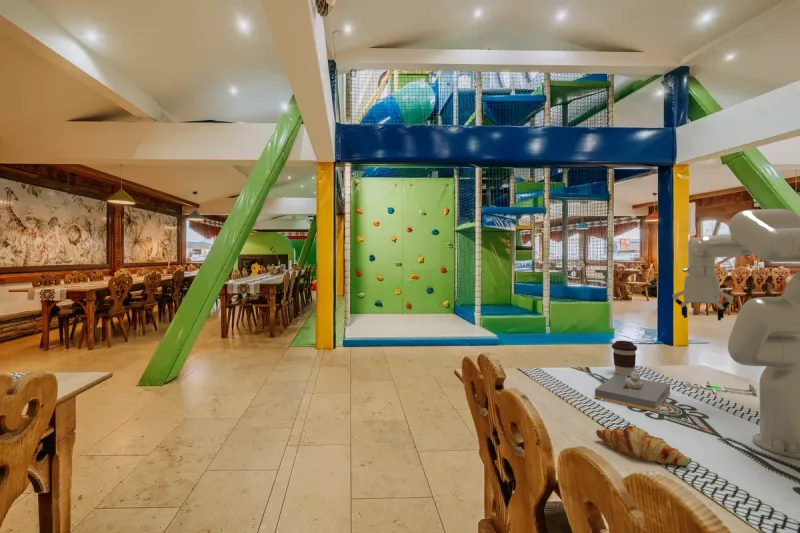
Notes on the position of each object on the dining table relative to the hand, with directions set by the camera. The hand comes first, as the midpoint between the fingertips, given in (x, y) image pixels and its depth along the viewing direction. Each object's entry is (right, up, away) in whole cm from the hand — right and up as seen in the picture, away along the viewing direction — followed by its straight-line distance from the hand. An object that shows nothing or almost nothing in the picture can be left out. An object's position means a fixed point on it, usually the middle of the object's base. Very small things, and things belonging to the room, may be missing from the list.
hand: (702, 318), depth 135 cm
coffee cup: (-7, -31, +35) cm, 47 cm away
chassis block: (-20, -31, +8) cm, 37 cm away
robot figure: (+17, -31, +14) cm, 38 cm away
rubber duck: (-20, -28, +8) cm, 36 cm away
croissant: (-46, -31, -36) cm, 66 cm away
